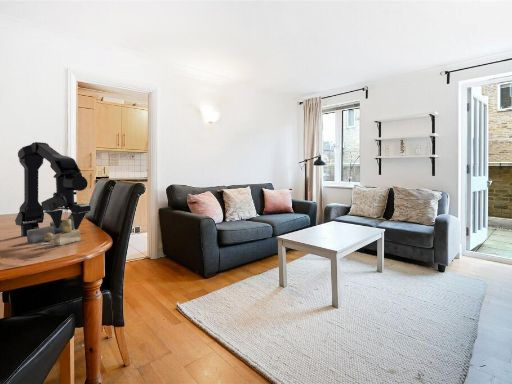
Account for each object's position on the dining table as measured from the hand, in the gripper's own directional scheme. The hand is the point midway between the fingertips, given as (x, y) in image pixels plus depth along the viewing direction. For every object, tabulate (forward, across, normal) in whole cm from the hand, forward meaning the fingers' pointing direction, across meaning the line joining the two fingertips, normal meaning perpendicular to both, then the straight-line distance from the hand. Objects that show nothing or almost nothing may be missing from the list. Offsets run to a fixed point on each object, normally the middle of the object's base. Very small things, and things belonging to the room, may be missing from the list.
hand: (67, 228), depth 112 cm
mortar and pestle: (+8, -17, +14) cm, 23 cm away
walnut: (+6, -10, 0) cm, 11 cm away
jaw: (+5, 0, 0) cm, 5 cm away
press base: (+7, -6, 0) cm, 9 cm away
